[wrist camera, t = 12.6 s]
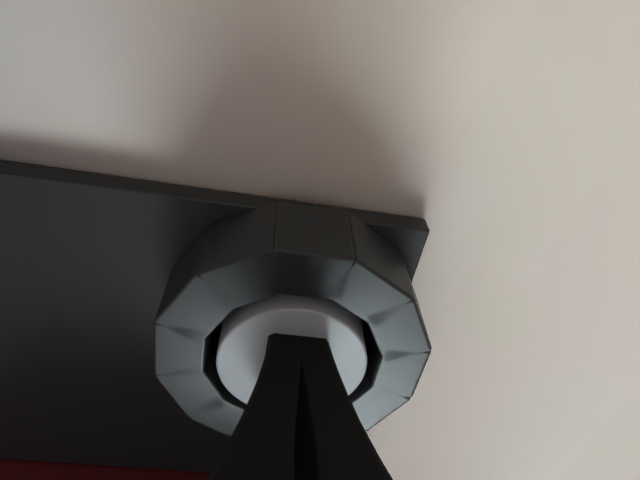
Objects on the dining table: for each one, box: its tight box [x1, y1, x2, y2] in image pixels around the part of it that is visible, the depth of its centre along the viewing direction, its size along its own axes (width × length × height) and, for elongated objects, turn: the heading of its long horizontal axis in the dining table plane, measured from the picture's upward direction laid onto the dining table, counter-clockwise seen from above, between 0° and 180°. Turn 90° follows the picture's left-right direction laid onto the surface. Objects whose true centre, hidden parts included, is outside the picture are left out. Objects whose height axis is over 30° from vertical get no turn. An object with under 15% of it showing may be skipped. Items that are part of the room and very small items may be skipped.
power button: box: [216, 294, 367, 404], centre depth 13 cm, size 4×4×2 cm
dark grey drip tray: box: [0, 160, 431, 473], centre depth 14 cm, size 11×14×3 cm
